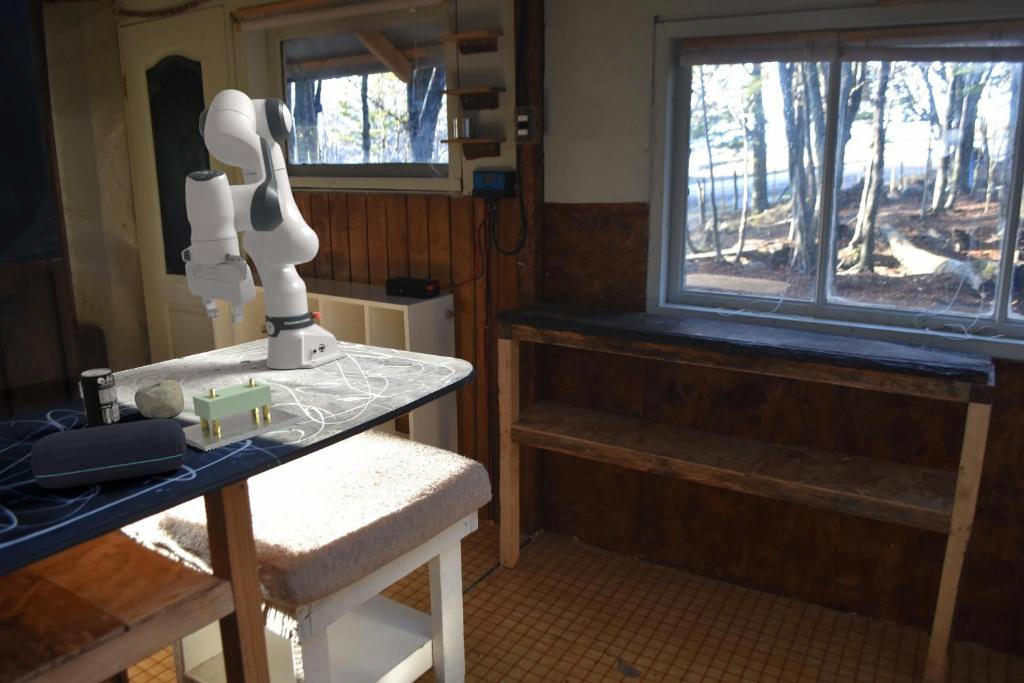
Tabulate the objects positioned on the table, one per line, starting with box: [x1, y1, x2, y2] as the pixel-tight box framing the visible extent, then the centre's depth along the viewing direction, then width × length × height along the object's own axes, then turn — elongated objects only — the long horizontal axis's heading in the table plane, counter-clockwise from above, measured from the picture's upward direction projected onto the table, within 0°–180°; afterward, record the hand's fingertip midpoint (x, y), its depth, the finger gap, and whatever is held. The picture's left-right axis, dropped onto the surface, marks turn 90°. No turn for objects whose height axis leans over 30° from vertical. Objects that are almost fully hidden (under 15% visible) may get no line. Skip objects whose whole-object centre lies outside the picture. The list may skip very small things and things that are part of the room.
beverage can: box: [79, 368, 121, 428], centre depth 174 cm, size 7×7×12 cm
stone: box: [134, 379, 185, 419], centre depth 180 cm, size 10×10×10 cm
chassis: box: [182, 378, 302, 452], centre depth 168 cm, size 22×14×10 cm, turn 139°
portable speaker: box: [30, 418, 187, 490], centre depth 144 cm, size 25×10×10 cm, turn 111°
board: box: [192, 380, 273, 421], centre depth 167 cm, size 14×6×4 cm, turn 139°
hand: (225, 319), depth 163 cm, fingers open, 8 cm apart
